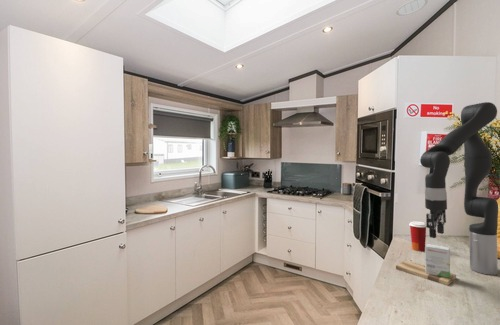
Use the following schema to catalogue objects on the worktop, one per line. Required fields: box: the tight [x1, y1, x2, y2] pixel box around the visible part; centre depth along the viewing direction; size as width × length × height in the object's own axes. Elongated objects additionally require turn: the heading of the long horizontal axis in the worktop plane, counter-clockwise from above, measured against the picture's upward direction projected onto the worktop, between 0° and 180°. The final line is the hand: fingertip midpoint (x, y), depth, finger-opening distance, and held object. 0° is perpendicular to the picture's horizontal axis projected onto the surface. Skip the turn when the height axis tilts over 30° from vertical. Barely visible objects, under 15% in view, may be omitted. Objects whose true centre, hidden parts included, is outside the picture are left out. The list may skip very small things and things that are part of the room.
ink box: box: [424, 243, 451, 278], centre depth 110 cm, size 9×5×12 cm, turn 52°
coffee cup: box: [408, 220, 427, 252], centre depth 142 cm, size 8×8×15 cm
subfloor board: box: [395, 259, 457, 287], centre depth 114 cm, size 10×20×2 cm, turn 35°
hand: (436, 235), depth 109 cm, fingers open, 8 cm apart
